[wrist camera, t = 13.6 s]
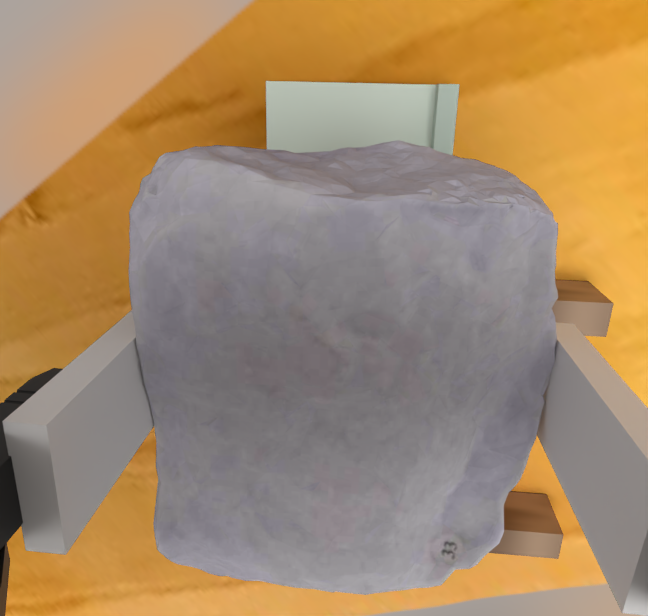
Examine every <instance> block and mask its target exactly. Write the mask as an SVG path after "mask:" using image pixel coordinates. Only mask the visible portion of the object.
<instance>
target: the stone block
mask: <svg viewBox="0 0 648 616" xmlns="http://www.w3.org/2000/svg"><path fill="white" fill-rule="evenodd" d="M129 215H130V232H129V235H130V257H129V287H130V297H131V307H132V313H133V319H134V325H135V331H136V346H137V351H138V356H139V361H140V367H141V372H142V378H143V383H144V386H145V389H146V392H147V395H148V399H149V402H150V406H151V411H152V415H153V421H154V427H155V434H156V442H157V448H156V469H157V474H158V487H157V497H156V506H155V515H154V532H155V539H156V545H157V550H158V551H159V552H160V553H161V554H163V555H164V556H165V557H166V558H167V559H169V560H170V561H172V562H174V563H177V564H180V565H185V566H190V567H194V568H198V569H201V570H203V571H205V572H207V573H210V574H214V575H218V576H229V577H232V578H236V579H241V580H245V581H264V582H268V583H273V584H278V585H283V586H289V587H296V588H308V589H317V590H322V591H328V592H335V591H338V592H344V593H354V594H364V595H366V594H373V593H380V592H389V591H399V590H407V589H413V588H428V587H434V586H439V585H442V584H443V583H444V581H445V580H446V579H447V578H448V577H449V576H450V575H451V574H452V572H453V571H454V570H455V569H470V568H472V567H473V566H475V565H477V564H478V563H479V562H480V560H481V559H482V558H483V557H484V556H485V555H486V554H487V553H489V552H490V551H491V550H492V549H493V548H495V547H496V546H497V545H498V544H499V543H500V540H501V538H502V535H503V533H504V503H505V501H506V498H507V496H508V493H509V492H510V491H511V490H512V489H513V488H514V487H515V486H516V484H517V483H518V482H519V480H520V479H521V476H522V474H523V472H524V469H525V467H526V464H527V460H528V457H529V453H530V451H531V448H532V446H533V444H534V441H535V439H536V435H537V431H538V428H539V424H540V419H541V414H542V410H543V406H544V403H545V402H544V397H543V395H544V392H545V390H546V388H547V386H548V383H549V380H550V376H551V372H552V368H553V366H554V363H555V348H556V344H557V333H556V321H555V316H554V313H553V311H552V307H553V305H554V303H555V301H556V300H557V299H558V290H557V287H556V284H555V267H556V246H557V236H558V223H556V222H555V220H554V218H553V213H552V212H551V211H550V210H549V208H548V207H547V206H546V204H545V203H544V202H543V200H542V199H541V198H540V196H539V195H538V194H537V192H536V191H535V190H533V189H531V188H530V187H529V186H528V185H526V184H524V183H523V182H521V181H520V180H519V179H518V178H517V177H516V176H515V175H513V174H511V173H510V172H508V171H506V170H503V169H500V168H497V167H495V166H493V165H489V164H485V163H483V162H481V161H478V160H476V159H465V158H459V157H456V156H453V155H449V154H446V153H442V152H438V151H436V150H434V149H432V148H430V147H426V146H419V145H415V144H411V143H407V142H404V141H400V140H397V141H391V142H385V143H380V144H375V145H371V146H367V147H357V148H352V147H347V148H340V149H336V150H333V151H323V152H305V153H293V152H290V151H286V150H269V149H256V148H247V147H234V146H221V145H214V146H207V147H193V148H189V149H186V150H183V151H176V152H169V153H165V154H163V155H162V156H160V157H159V159H158V161H157V162H156V164H155V166H154V167H153V170H152V172H151V174H149V175H147V176H146V177H144V178H143V179H142V181H141V184H140V191H139V194H138V195H137V197H136V198H135V200H134V202H133V205H132V207H131V210H130V212H129Z"/></svg>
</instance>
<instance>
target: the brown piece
mask: <svg viewBox="0 0 648 616" xmlns="http://www.w3.org/2000/svg"><path fill="white" fill-rule="evenodd" d="M555 284H556V287H557V290H558V299H557V300H556V301H555V303H554V305H553V307H552V311H553V313H554V316H555V321H556V323H569V324H574V325H575V326H576V327H577V328H578V329H579V331H580V332H581V333H582V334H583V335H584V336H601V337H606V335H607V331H608V326H609V321H610V317H611V312H612V307H613V303H612V302H611V301H610V300H609V299H608V298H607V297H606V296H604V295H603V294H602V293H601V292H600V291H599V290H598V289H596V288H595V287H594V286H593V285H592V284H591V283H590V282H588V281H570V280H555ZM562 539H563V533H562V530H561V528H560V525H559V523H558V521H557V518H556V516H555V514H554V511H553V509H552V506H551V504H550V502H549V499H548V497H547V495H546V494H536V493H523V492H509V493H508V496H507V498H506V501H505V503H504V533H503V535H502V538H501V540H500V543H499V544H498V545H497V546H496V547H495V548H493V549H492V550H491V551H490V552H489V553H498V554H509V555H521V556H532V557H544V558H555V559H558V557H559V553H560V548H561V544H562Z"/></svg>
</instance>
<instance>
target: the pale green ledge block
mask: <svg viewBox="0 0 648 616" xmlns="http://www.w3.org/2000/svg"><path fill="white" fill-rule="evenodd" d="M459 85H460V84H437V85H427V84H381V83H336V82H290V81H266V129H267V149H269V150H286V151H290V152H293V153H305V152H323V151H333V150H336V149H340V148H347V147H352V148H357V147H367V146H371V145H375V144H380V143H385V142H391V141H397V140H400V141H404V142H407V143H411V144H415V145H419V146H426V147H430V148H432V149H434V150H436V151H438V152H442V153H446V154H449V155H453V145H454V135H455V125H456V115H457V105H458V95H459Z"/></svg>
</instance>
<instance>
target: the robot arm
mask: <svg viewBox="0 0 648 616" xmlns="http://www.w3.org/2000/svg"><path fill="white" fill-rule="evenodd" d="M556 333H557V344H556V348H555V363H554V366H553V368H552V372H551V376H550V380H549V383H548V386H547V388H546V390H545V392H544V395H543V397H544V402H545V403H544V406H543V410H542V414H541V419H540V424H539V428H538V431H537V436H538V438H539V440H540V442H541V444H542V446H543V448H544V450H545V452H546V455H547V457H548V459H549V461H550V463H551V465H552V467H553V469H554V471H555V473H556V476H557V478H558V480H559V482H560V484H561V486H562V488H563V490H564V492H565V494H566V497H567V499H568V501H569V503H570V505H571V507H572V509H573V511H574V513H575V515H576V517H577V520H578V522H579V524H580V526H581V528H582V530H583V532H584V534H585V536H586V538H587V541H588V543H589V545H590V547H591V549H592V551H593V553H594V555H595V557H596V559H597V561H598V564H599V566H600V568H601V570H602V572H603V574H604V576H605V578H606V580H607V582H608V584H609V587H610V589H611V591H612V593H613V595H614V597H615V599H616V601H617V603H618V605H619V607H620V609H621V611H622V613H628V614H637V615H646V616H648V408H647V407H646V406H645V405H644V403H643V402H642V401H641V400H640V399H639V398H638V397H637V395H636V394H635V393H634V392H633V391H632V390H631V389H630V388H629V386H628V385H627V384H626V383H625V382H624V381H623V380H622V378H621V377H620V376H619V375H618V374H617V373H616V372H615V370H614V369H613V368H612V367H611V366H610V365H609V364H608V362H607V361H606V360H605V359H604V358H603V357H602V356H601V354H600V353H599V352H598V351H597V350H596V349H595V348H594V346H593V345H592V344H591V343H590V342H589V341H588V340H587V339H586V337H585V336H584V335H583V334H582V333H581V332H580V331H579V329H578V328H577V327H576V326H575V325H574V324H569V323H556ZM153 426H154V421H153V415H152V411H151V406H150V402H149V399H148V395H147V392H146V389H145V386H144V383H143V378H142V372H141V367H140V361H139V356H138V351H137V346H136V331H135V325H134V319H133V313H132V310H131V311H130V312H129V313H128V314H127V315H126V316H124V317H123V318H122V319H121V320H120V321H119V322H117V323H116V324H115V325H114V326H113V327H112V328H110V329H109V330H108V331H107V332H106V333H105V334H103V335H102V336H101V337H100V338H99V339H98V340H96V341H95V342H94V343H93V344H92V345H91V346H89V347H88V348H87V349H86V350H85V351H84V352H82V353H81V354H80V355H79V356H78V357H77V358H75V359H74V360H73V361H72V362H71V363H70V364H68V365H67V366H66V367H65V368H64V369H57V368H53V369H51V370H49V371H46V372H44V373H42V374H40V375H38V376H35V377H33V378H31V379H30V380H29V381H28V382H26V383H25V384H24V385H23V386H22V387H20V388H19V389H18V390H17V393H15V392H14V393H13V394H12V395H10V396H9V397H8V398H7V399H5V402H4V403H0V616H5V610H6V599H7V588H8V577H9V566H10V558H9V553H8V547H7V541H8V540H9V539H10V538H11V537H12V535H13V534H14V533H15V532H16V531H17V529H18V528H19V527H20V526H22V532H23V537H24V543H25V548H26V551H36V552H45V553H55V554H64V555H66V554H67V552H68V551H69V549H70V548H71V546H72V545H73V544H74V542H75V541H76V539H77V538H78V536H79V535H80V533H81V532H82V530H83V529H84V527H85V526H86V525H87V523H88V522H89V520H90V519H91V517H92V516H93V514H94V513H95V511H96V510H97V508H98V507H99V505H100V504H101V503H102V501H103V500H104V498H105V497H106V495H107V494H108V492H109V491H110V489H111V488H112V486H113V485H114V484H115V482H116V481H117V479H118V478H119V476H120V475H121V473H122V472H123V470H124V469H125V467H126V466H127V465H128V463H129V462H130V460H131V459H132V457H133V456H134V454H135V453H136V451H137V450H138V448H139V447H140V445H141V444H142V443H143V441H144V440H145V438H146V437H147V435H148V434H149V432H150V431H151V429H152V428H153Z"/></svg>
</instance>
